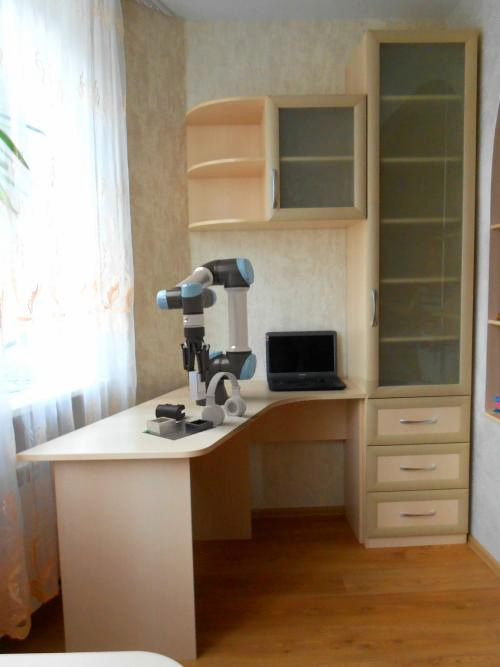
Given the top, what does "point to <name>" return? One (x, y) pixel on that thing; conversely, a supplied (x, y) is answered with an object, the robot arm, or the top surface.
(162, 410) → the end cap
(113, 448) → the top surface
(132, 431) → the top surface
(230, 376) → the headphones
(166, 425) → the panel
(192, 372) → the plug
